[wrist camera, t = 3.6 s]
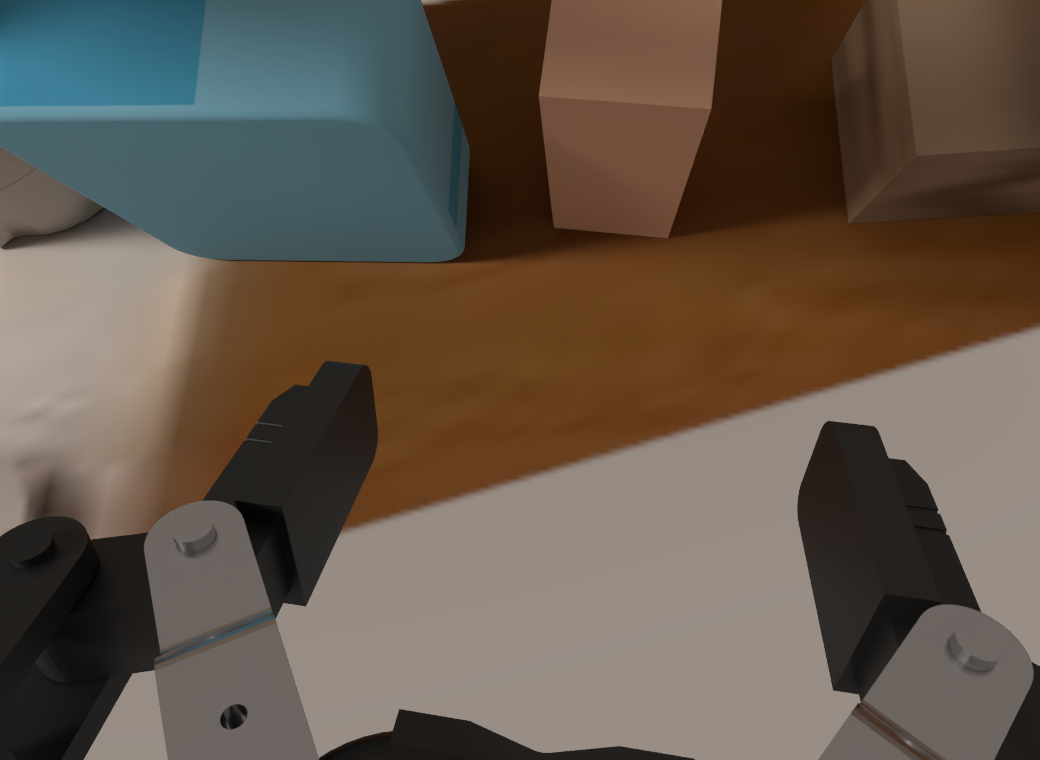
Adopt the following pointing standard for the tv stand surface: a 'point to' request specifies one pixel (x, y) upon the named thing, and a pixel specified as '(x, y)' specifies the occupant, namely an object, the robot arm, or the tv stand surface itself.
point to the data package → (244, 123)
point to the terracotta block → (625, 109)
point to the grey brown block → (939, 109)
